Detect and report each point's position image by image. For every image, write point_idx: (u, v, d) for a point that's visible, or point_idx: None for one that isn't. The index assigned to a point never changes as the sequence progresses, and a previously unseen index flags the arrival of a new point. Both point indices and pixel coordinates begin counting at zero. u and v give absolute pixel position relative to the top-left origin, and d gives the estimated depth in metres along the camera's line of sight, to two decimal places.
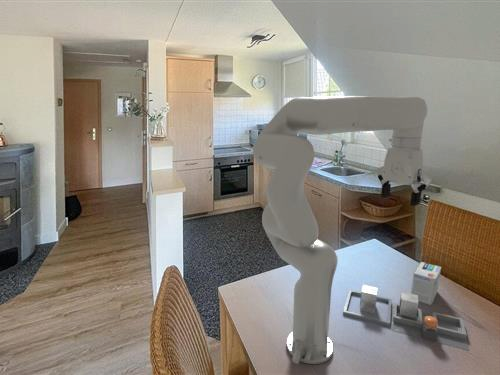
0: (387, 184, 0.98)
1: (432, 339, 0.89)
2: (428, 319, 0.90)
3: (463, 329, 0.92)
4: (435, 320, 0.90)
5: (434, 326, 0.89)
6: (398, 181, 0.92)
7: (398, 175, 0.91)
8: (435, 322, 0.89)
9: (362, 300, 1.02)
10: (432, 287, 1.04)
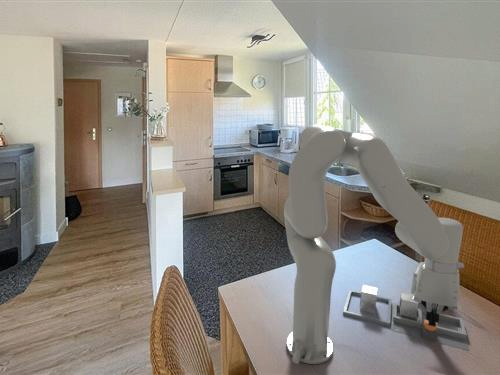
0: (434, 310, 0.89)
1: (432, 339, 0.89)
2: (427, 322, 0.90)
3: (463, 329, 0.92)
4: None
5: (433, 329, 0.89)
6: None
7: None
8: (435, 325, 0.89)
9: (362, 300, 1.02)
10: None
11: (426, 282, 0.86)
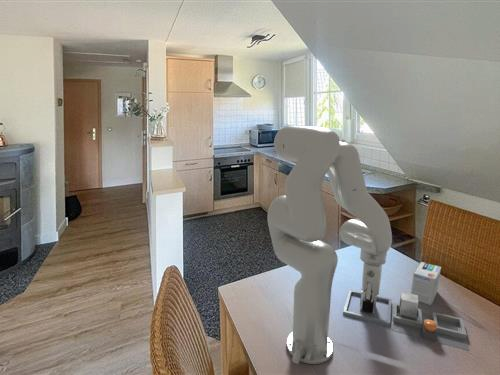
0: None
1: (432, 339, 0.89)
2: (427, 322, 0.90)
3: (463, 329, 0.92)
4: (434, 323, 0.90)
5: (433, 329, 0.89)
6: None
7: None
8: (435, 325, 0.89)
9: (362, 300, 1.02)
10: (432, 287, 1.04)
11: None
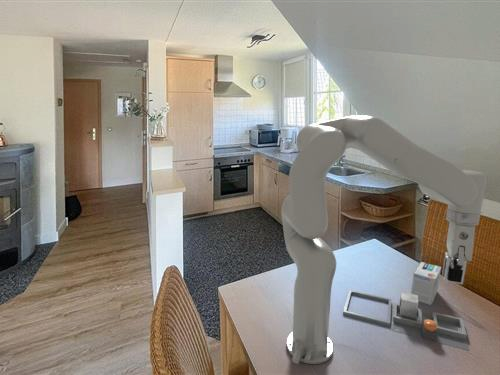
0: None
1: (432, 339, 0.89)
2: (427, 322, 0.90)
3: (463, 329, 0.92)
4: (434, 323, 0.90)
5: (433, 329, 0.89)
6: None
7: None
8: (435, 325, 0.89)
9: (447, 268, 0.89)
10: (432, 287, 1.04)
11: None
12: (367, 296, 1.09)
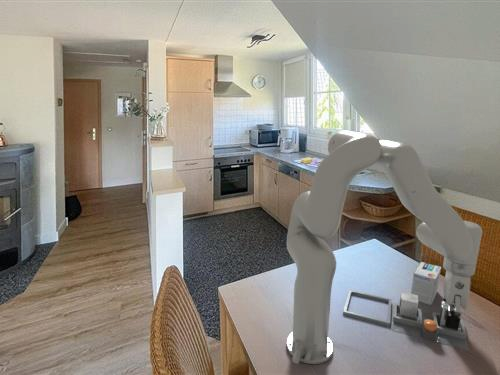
0: None
1: (432, 339, 0.89)
2: (427, 322, 0.90)
3: (463, 329, 0.92)
4: (434, 323, 0.90)
5: (433, 329, 0.89)
6: None
7: None
8: (435, 325, 0.89)
9: (443, 318, 0.92)
10: (432, 287, 1.04)
11: None
12: (367, 296, 1.09)
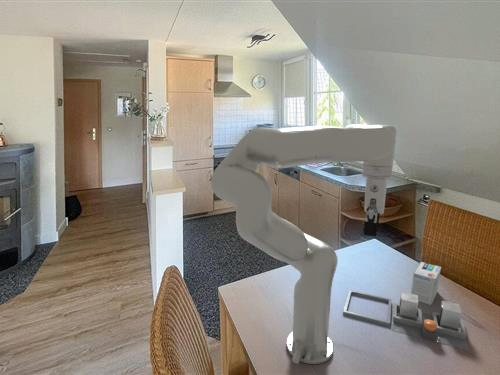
0: None
1: (432, 339, 0.89)
2: (427, 322, 0.90)
3: (463, 329, 0.92)
4: (434, 323, 0.90)
5: (433, 329, 0.89)
6: None
7: None
8: (435, 325, 0.89)
9: (443, 318, 0.92)
10: (432, 287, 1.04)
11: None
12: (367, 296, 1.09)
